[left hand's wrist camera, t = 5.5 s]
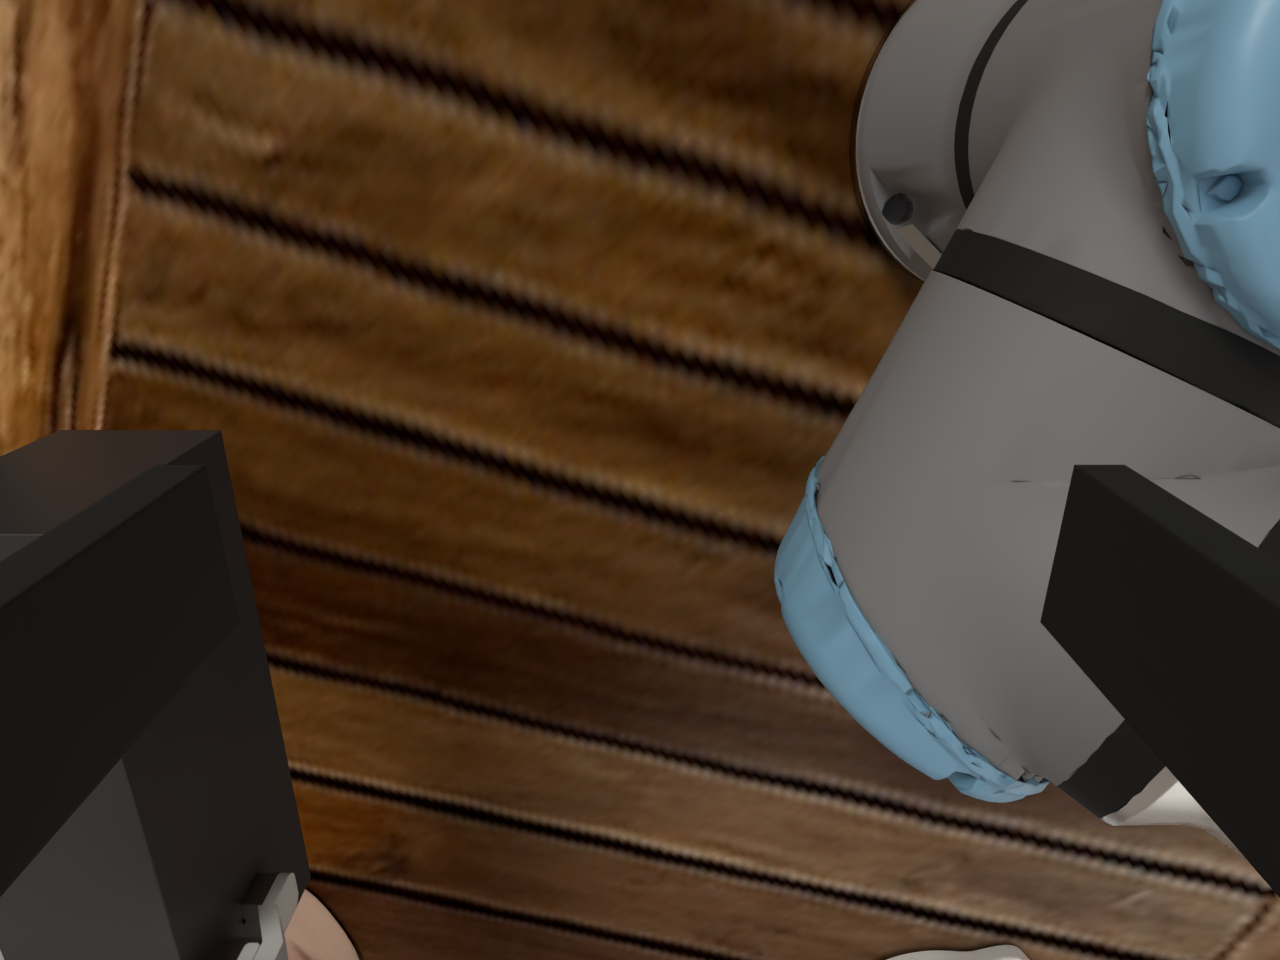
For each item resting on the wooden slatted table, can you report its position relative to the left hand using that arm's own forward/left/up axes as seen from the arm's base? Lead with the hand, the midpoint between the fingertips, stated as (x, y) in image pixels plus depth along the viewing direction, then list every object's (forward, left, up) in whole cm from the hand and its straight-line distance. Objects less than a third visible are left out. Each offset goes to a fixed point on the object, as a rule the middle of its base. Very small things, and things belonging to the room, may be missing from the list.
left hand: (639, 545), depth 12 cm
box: (+14, +19, -17) cm, 29 cm away
